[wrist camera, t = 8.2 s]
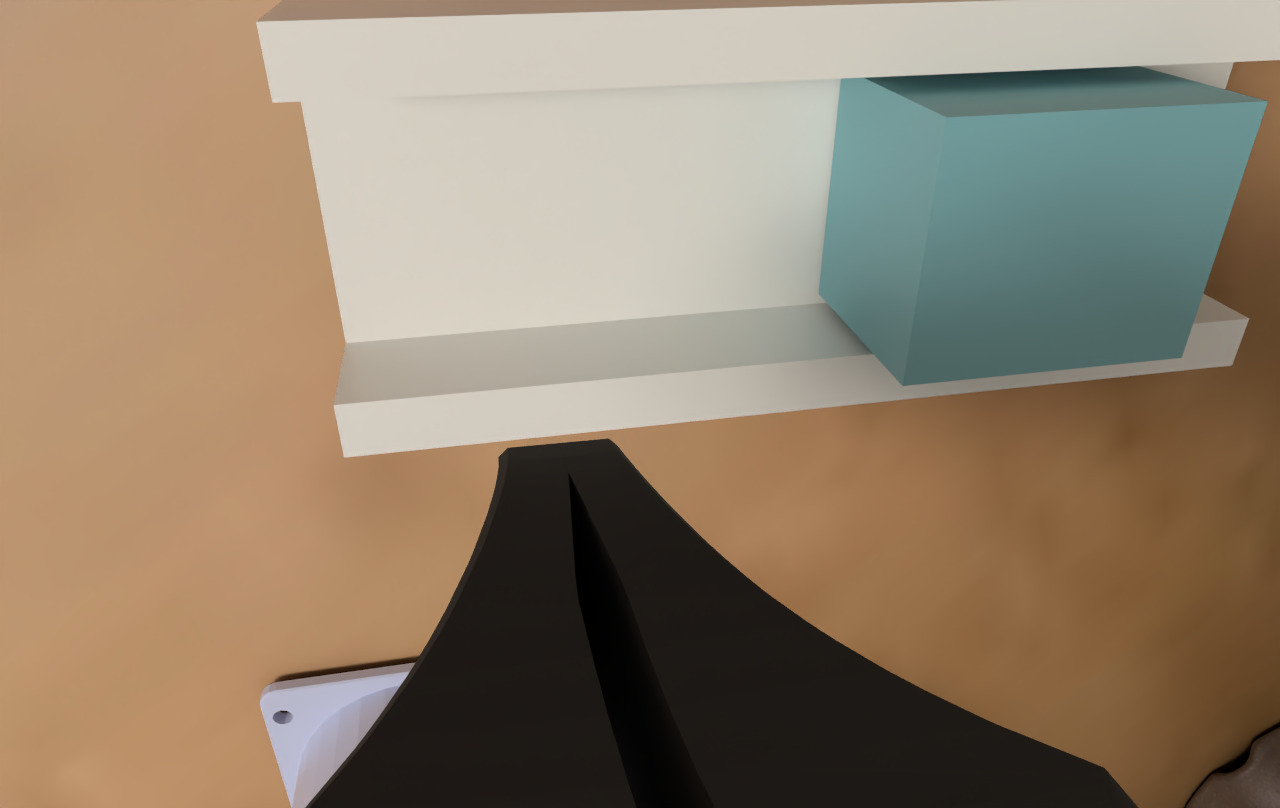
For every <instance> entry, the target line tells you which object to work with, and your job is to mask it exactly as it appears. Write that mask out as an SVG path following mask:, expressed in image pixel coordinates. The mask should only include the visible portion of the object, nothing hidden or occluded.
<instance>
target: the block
mask: <svg viewBox="0 0 1280 808" xmlns="http://www.w3.org/2000/svg"><path fill="white" fill-rule="evenodd" d="M1267 103H1268V101H1266V100H1262V99H1258V98H1255V97H1251V96H1247V95H1244V94H1240V93H1236V92H1233V91H1229V90H1225V89H1222V88H1218V87H1214V86H1211V85H1207V84H1203V83H1200V82H1196V81H1192V80H1189V79H1185V78H1181V77H1178V76H1174V75H1170V74H1167V73H1163V72H1159V71H1156V70H1152V69H1148V68H1145V67H1141V66H1126V67H1102V68H1079V69H1055V70H1031V71H1008V72H984V73H960V74H937V75H913V76H889V77H866V78H842V79H841V82H840V92H839V101H838V111H837V121H836V130H835V140H834V150H833V159H832V169H831V178H830V188H829V198H828V207H827V217H826V226H825V236H824V246H823V255H822V265H821V275H820V284H819V295H820V296H821V297H822V298H823V299H824V300H825V301H826V302H827V303H828V304H829V306H830V307H831V308H832V309H833V310H834V311H835V312H836V313H837V314H838V316H839V317H840V318H841V319H842V320H843V321H844V322H845V323H846V324H847V325H848V327H849V328H850V329H851V330H852V331H853V332H854V333H855V334H856V335H857V336H858V338H859V339H860V340H861V341H862V342H863V343H864V344H865V345H866V346H867V347H868V349H869V350H870V351H871V352H872V353H873V354H874V355H875V356H876V357H877V359H878V360H879V361H880V362H881V363H882V364H883V365H884V366H885V367H886V368H887V370H888V371H889V372H890V373H891V374H892V375H893V376H894V377H895V378H896V379H897V381H898V382H899V383H900V384H901V385H902V386H908V385H918V384H928V383H938V382H948V381H958V380H968V379H978V378H987V377H997V376H1007V375H1017V374H1027V373H1037V372H1047V371H1057V370H1067V369H1076V368H1086V367H1096V366H1106V365H1116V364H1126V363H1136V362H1146V361H1156V360H1165V359H1175V358H1182V356H1183V353H1184V350H1185V347H1186V344H1187V341H1188V338H1189V335H1190V332H1191V329H1192V326H1193V323H1194V320H1195V317H1196V314H1197V311H1198V308H1199V305H1200V302H1201V299H1202V296H1203V293H1204V290H1205V287H1206V284H1207V281H1208V278H1209V275H1210V272H1211V269H1212V266H1213V263H1214V260H1215V257H1216V254H1217V251H1218V248H1219V245H1220V242H1221V239H1222V237H1223V234H1224V231H1225V228H1226V225H1227V222H1228V219H1229V216H1230V213H1231V210H1232V207H1233V204H1234V201H1235V198H1236V195H1237V192H1238V189H1239V186H1240V183H1241V180H1242V177H1243V174H1244V171H1245V168H1246V165H1247V162H1248V159H1249V156H1250V153H1251V150H1252V147H1253V144H1254V141H1255V138H1256V135H1257V132H1258V129H1259V126H1260V123H1261V120H1262V117H1263V114H1264V111H1265V109H1266V106H1267Z"/></svg>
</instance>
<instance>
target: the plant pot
mask: <svg viewBox="0 0 1280 808" xmlns="http://www.w3.org/2000/svg"><path fill="white" fill-rule="evenodd" d="M1186 808H1280V727H1278V728H1277V729H1275V730H1273V731H1271V732H1269V733H1267V734H1266V735H1264V736H1262V737H1261V738H1259V739H1257V740H1256V741H1255V742H1254V743H1253V744H1252V746H1251V750H1250V755H1249V758H1248V760H1247V762H1246V763H1245V764H1244V765H1243V766H1242V767H1240V768H1239V769H1237V770H1235V771H1233V772H1229V773H1214V774H1212V775H1211V776H1210V777H1209V778H1208V779H1207V780H1206V781H1205V782H1204V783H1203V784H1202V786H1201V787H1200V788H1199V789H1198V790H1197V792H1196V793H1195V794H1194V796H1193V797H1192V798H1191V800H1190V801H1189V803H1188V805H1187V806H1186Z"/></svg>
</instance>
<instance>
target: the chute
mask: <svg viewBox="0 0 1280 808" xmlns="http://www.w3.org/2000/svg"><path fill="white" fill-rule="evenodd" d="M256 23H257V28H258V33H259V38H260V43H261V48H262V53H263V58H264V63H265V68H266V73H267V78H268V83H269V88H270V93H271V97H272V102H273V103H275V102H298V101H301V105H302V110H303V115H304V121H305V126H306V132H307V137H308V142H309V148H310V153H311V158H312V164H313V169H314V174H315V180H316V185H317V191H318V196H319V201H320V207H321V212H322V217H323V223H324V228H325V233H326V239H327V244H328V250H329V255H330V260H331V266H332V271H333V276H334V282H335V287H336V293H337V298H338V303H339V309H340V314H341V319H342V325H343V330H344V335H345V341H346V345H345V350H344V355H343V360H342V365H341V370H340V375H339V380H338V385H337V390H336V396H335V401H334V410H335V415H336V420H337V424H338V429H339V434H340V439H341V444H342V449H343V454H344V457H354V456H363V455H373V454H383V453H392V452H402V451H412V450H421V449H431V448H441V447H450V446H460V445H470V444H479V443H489V442H498V441H508V440H518V439H527V438H537V437H547V436H556V435H566V434H576V433H585V432H595V431H605V430H614V429H624V428H634V427H643V426H653V425H662V424H672V423H682V422H691V421H701V420H711V419H720V418H730V417H740V416H749V415H759V414H769V413H778V412H788V411H798V410H807V409H817V408H826V407H836V406H846V405H855V404H865V403H875V402H884V401H894V400H904V399H913V398H923V397H933V396H942V395H952V394H961V393H971V392H981V391H990V390H1000V389H1010V388H1019V387H1029V386H1039V385H1048V384H1058V383H1068V382H1077V381H1087V380H1097V379H1106V378H1116V377H1125V376H1135V375H1145V374H1154V373H1164V372H1174V371H1183V370H1193V369H1203V368H1212V367H1222V366H1232V364H1233V361H1234V359H1235V356H1236V353H1237V351H1238V348H1239V345H1240V342H1241V340H1242V337H1243V334H1244V332H1245V329H1246V326H1247V324H1248V321H1249V318H1247V317H1246V316H1244V315H1242V314H1240V313H1238V312H1236V311H1235V310H1233V309H1231V308H1229V307H1227V306H1225V305H1224V304H1222V303H1220V302H1218V301H1216V300H1215V299H1213V298H1211V297H1209V296H1207V295H1205V294H1204V293H1203V296H1202V299H1201V302H1200V305H1199V308H1198V311H1197V314H1196V317H1195V320H1194V323H1193V326H1192V329H1191V332H1190V335H1189V338H1188V341H1187V344H1186V347H1185V350H1184V353H1183V356H1182V358H1175V359H1165V360H1156V361H1146V362H1136V363H1126V364H1116V365H1106V366H1096V367H1086V368H1076V369H1067V370H1057V371H1047V372H1037V373H1027V374H1017V375H1007V376H997V377H987V378H978V379H968V380H958V381H948V382H938V383H928V384H918V385H908V386H902V385H901V384H900V383H899V382H898V381H897V379H896V378H895V377H894V376H893V375H892V374H891V373H890V372H889V371H888V370H887V368H886V367H885V366H884V365H883V364H882V363H881V362H880V361H879V360H878V359H877V357H876V356H875V355H874V354H873V353H872V352H871V351H870V350H869V349H868V347H867V346H866V345H865V344H864V343H863V342H862V341H861V340H860V339H859V338H858V336H857V335H856V334H855V333H854V332H853V331H852V330H851V329H850V328H849V327H848V325H847V324H846V323H845V322H844V321H843V320H842V319H841V318H840V317H839V316H838V314H837V313H836V312H835V311H834V310H833V309H832V308H831V307H830V306H829V304H828V303H827V302H826V301H825V300H824V299H823V298H822V297H821V296H820V295H819V284H820V275H821V265H822V255H823V246H824V236H825V226H826V217H827V207H828V198H829V188H830V178H831V169H832V159H833V150H834V140H835V130H836V121H837V111H838V101H839V92H840V82H841V79H842V78H866V77H889V76H913V75H937V74H960V73H984V72H1008V71H1031V70H1055V69H1079V68H1102V67H1126V66H1141V67H1145V68H1148V69H1152V70H1156V71H1159V72H1163V73H1167V74H1170V75H1174V76H1178V77H1181V78H1185V79H1189V80H1192V81H1196V82H1200V83H1203V84H1207V85H1211V86H1214V87H1218V88H1222V89H1226V86H1227V82H1228V79H1229V76H1230V73H1231V70H1232V66H1233V63H1234V62H1244V61H1268V60H1280V0H283V1H281V2H280V3H279V4H278V5H276V6H275V7H274V8H273V9H271V10H270V11H269V12H268V13H266V14H265V15H264V16H263V17H261V18H260V19H259V20H258V21H256Z"/></svg>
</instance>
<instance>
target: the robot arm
mask: <svg viewBox="0 0 1280 808" xmlns="http://www.w3.org/2000/svg"><path fill="white" fill-rule="evenodd" d="M260 707H261V711H262V714H263V717H264V720H265V723H266V727H267V730H268V733H269V736H270V740H271V743H272V746H273V749H274V753H275V756H276V759H277V762H278V765H279V769H280V772H281V775H282V778H283V782H284V785H285V788H286V791H287V795H288V798H289V801H290V804H291V807H292V808H1138V807H1137V806H1136V804H1135V803H1134V802H1133V801H1132V800H1131V798H1130V797H1129V796H1128V795H1127V794H1126V793H1125V791H1124V790H1123V789H1122V788H1121V787H1120V785H1119V784H1118V783H1117V782H1116V781H1115V780H1114V778H1113V777H1112V776H1111V775H1110V774H1109V773H1108V772H1107V770H1106V769H1105V768H1103V767H1101V766H1098V765H1096V764H1093V763H1091V762H1088V761H1086V760H1084V759H1081V758H1079V757H1076V756H1074V755H1071V754H1069V753H1066V752H1064V751H1061V750H1059V749H1056V748H1054V747H1051V746H1049V745H1046V744H1044V743H1041V742H1039V741H1036V740H1034V739H1031V738H1029V737H1026V736H1024V735H1022V734H1019V733H1017V732H1014V731H1012V730H1009V729H1007V728H1004V727H1002V726H999V725H997V724H994V723H992V722H990V721H988V720H986V719H983V718H981V717H979V716H977V715H975V714H973V713H971V712H969V711H967V710H964V709H962V708H960V707H958V706H956V705H954V704H952V703H950V702H948V701H946V700H944V699H942V698H940V697H937V696H935V695H933V694H931V693H929V692H927V691H925V690H923V689H921V688H919V687H917V686H915V685H914V684H912V683H910V682H908V681H906V680H904V679H902V678H900V677H898V676H897V675H895V674H893V673H891V672H889V671H887V670H885V669H884V668H882V667H880V666H878V665H877V664H875V663H873V662H872V661H870V660H868V659H867V658H865V657H863V656H861V655H860V654H858V653H856V652H855V651H853V650H851V649H850V648H848V647H846V646H844V645H843V644H841V643H839V642H838V641H836V640H834V639H833V638H831V637H830V636H828V635H827V634H825V633H824V632H822V631H820V630H819V629H817V628H816V627H814V626H813V625H811V624H810V623H808V622H807V621H805V620H804V619H802V618H801V617H800V616H798V615H797V614H795V613H794V612H793V611H791V610H790V609H788V608H787V607H786V606H784V605H783V604H781V603H780V602H778V601H777V600H776V599H774V598H773V597H771V596H770V595H769V594H767V593H766V592H765V591H763V590H762V589H761V588H760V587H758V586H757V585H756V584H755V583H753V582H752V581H751V580H750V579H749V578H747V577H746V576H745V575H744V574H743V573H741V572H740V571H739V570H738V569H737V568H736V567H734V566H733V565H732V564H731V563H730V562H729V561H727V560H726V559H725V558H724V557H723V556H722V555H721V554H719V553H718V552H717V551H716V550H715V549H714V548H713V547H712V546H711V545H710V544H709V543H707V542H706V541H705V540H704V539H703V538H702V537H701V536H700V535H699V534H698V533H697V532H696V531H695V530H694V529H693V528H692V527H691V526H690V525H689V524H688V523H687V522H686V521H685V520H684V519H683V518H682V517H681V516H680V515H679V514H678V513H677V512H676V511H675V510H674V509H673V508H672V507H671V506H670V505H669V504H668V503H667V502H666V501H665V500H664V499H663V498H662V497H661V496H660V495H659V494H658V492H657V491H656V490H655V489H654V488H653V487H652V486H651V485H650V484H649V483H648V481H647V480H646V479H645V478H644V477H643V476H642V475H641V474H640V472H639V471H638V470H637V469H636V468H635V467H634V465H633V464H632V463H631V462H630V461H629V459H628V458H627V457H626V456H625V455H624V453H623V452H622V451H621V450H620V448H619V447H618V446H617V445H616V444H615V443H613V442H612V441H611V440H610V439H600V440H589V441H578V442H567V443H557V444H546V445H535V446H524V447H513V448H507V449H506V450H505V451H504V452H503V453H502V454H501V455H500V456H499V469H498V475H497V481H496V486H495V490H494V494H493V497H492V501H491V504H490V507H489V511H488V514H487V517H486V519H485V522H484V525H483V527H482V530H481V533H480V535H479V538H478V541H477V543H476V546H475V549H474V551H473V554H472V556H471V558H470V561H469V563H468V565H467V567H466V569H465V572H464V574H463V576H462V578H461V580H460V582H459V584H458V586H457V588H456V590H455V592H454V594H453V597H452V599H451V601H450V603H449V605H448V607H447V609H446V611H445V613H444V614H443V616H442V618H441V620H440V622H439V624H438V625H437V627H436V629H435V631H434V633H433V634H432V636H431V638H430V640H429V641H428V643H427V645H426V646H425V648H424V650H423V651H422V653H421V654H420V656H419V658H418V659H417V661H416V663H408V664H401V665H394V666H387V667H380V668H373V669H366V670H359V671H352V672H344V673H337V674H330V675H323V676H316V677H309V678H302V679H295V680H288V681H280V682H275V683H272V684H269V685H268V686H267V687H265V688H264V690H263V691H262V694H261V699H260ZM279 711H288V713H281V712H279Z"/></svg>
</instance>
